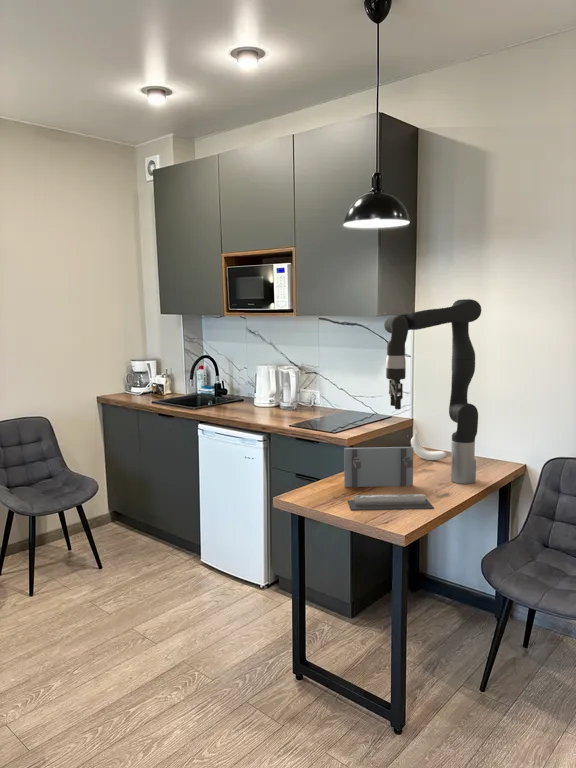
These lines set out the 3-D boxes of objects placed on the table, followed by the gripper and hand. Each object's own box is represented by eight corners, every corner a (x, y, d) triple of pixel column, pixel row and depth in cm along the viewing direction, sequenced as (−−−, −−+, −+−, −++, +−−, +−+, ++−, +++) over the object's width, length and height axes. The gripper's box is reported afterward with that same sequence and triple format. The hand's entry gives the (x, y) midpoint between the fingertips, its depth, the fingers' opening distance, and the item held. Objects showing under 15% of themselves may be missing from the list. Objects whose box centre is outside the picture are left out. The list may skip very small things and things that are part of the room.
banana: (444, 464, 267) (445, 433, 265) (408, 458, 279) (408, 428, 277) (449, 462, 270) (450, 431, 269) (413, 456, 283) (413, 426, 281)
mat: (426, 499, 217) (426, 498, 217) (433, 508, 207) (433, 507, 207) (347, 501, 216) (347, 500, 216) (350, 510, 207) (350, 509, 206)
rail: (423, 501, 213) (423, 494, 213) (425, 504, 211) (425, 496, 210) (354, 503, 213) (354, 495, 212) (355, 505, 210) (355, 497, 210)
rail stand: (412, 484, 236) (412, 446, 234) (419, 494, 223) (420, 454, 221) (344, 486, 235) (344, 448, 233) (348, 495, 223) (348, 455, 221)
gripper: (409, 368, 219) (409, 410, 221) (401, 365, 233) (401, 404, 235) (389, 368, 218) (389, 410, 220) (383, 365, 233) (382, 404, 235)
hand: (395, 407), depth 228 cm, fingers open, 8 cm apart
